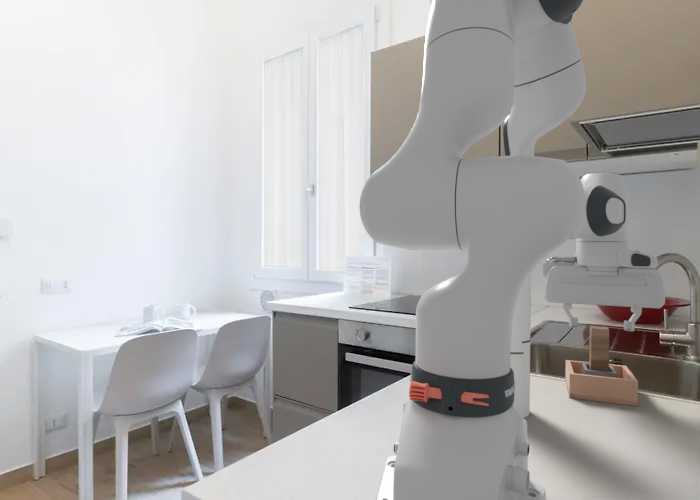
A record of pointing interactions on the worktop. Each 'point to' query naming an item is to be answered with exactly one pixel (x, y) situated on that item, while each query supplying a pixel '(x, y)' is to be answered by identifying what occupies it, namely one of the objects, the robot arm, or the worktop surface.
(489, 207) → the robot arm
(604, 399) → the pink planter box
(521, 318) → the cylindrical container
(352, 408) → the worktop surface
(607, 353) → the tall wooden post
